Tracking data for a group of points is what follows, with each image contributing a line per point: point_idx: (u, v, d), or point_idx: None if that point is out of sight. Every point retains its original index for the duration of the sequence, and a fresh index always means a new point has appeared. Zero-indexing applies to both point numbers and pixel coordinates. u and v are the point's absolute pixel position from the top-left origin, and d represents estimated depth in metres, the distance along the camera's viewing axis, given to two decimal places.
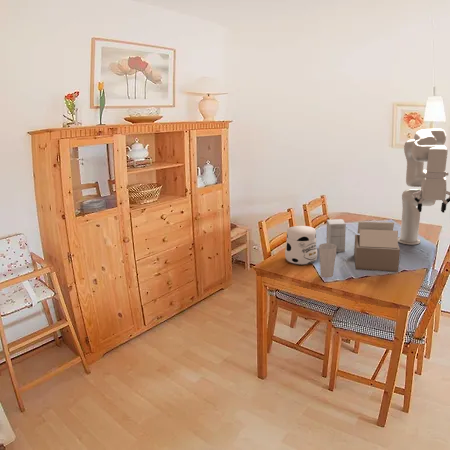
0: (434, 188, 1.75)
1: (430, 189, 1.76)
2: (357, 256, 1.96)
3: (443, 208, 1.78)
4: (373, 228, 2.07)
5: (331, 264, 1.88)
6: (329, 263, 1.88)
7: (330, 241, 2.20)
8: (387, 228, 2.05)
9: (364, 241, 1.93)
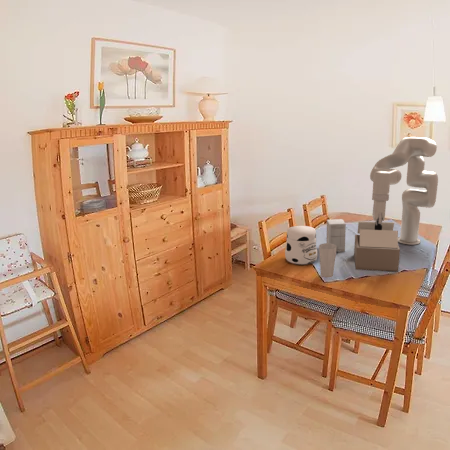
0: None
1: None
2: (357, 256, 1.96)
3: None
4: (373, 228, 2.07)
5: (331, 264, 1.88)
6: (329, 263, 1.88)
7: (330, 241, 2.20)
8: (387, 228, 2.05)
9: (364, 241, 1.93)
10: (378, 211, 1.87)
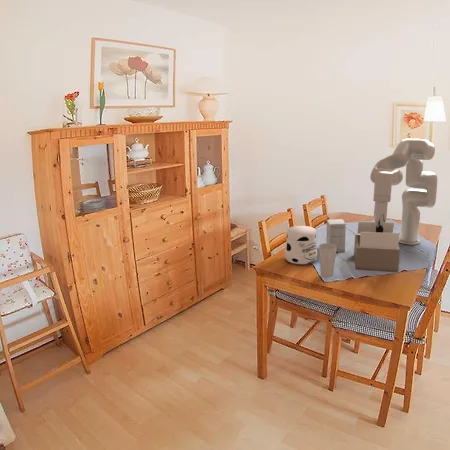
0: None
1: None
2: (357, 256, 1.96)
3: (382, 230, 1.89)
4: (373, 228, 2.07)
5: (331, 264, 1.88)
6: (329, 263, 1.88)
7: (330, 241, 2.20)
8: (387, 228, 2.05)
9: (364, 242, 1.92)
10: (379, 212, 1.81)
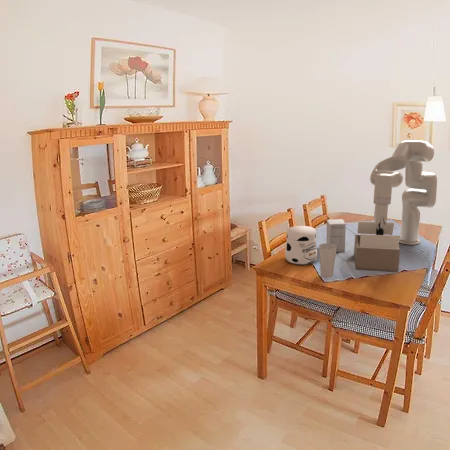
0: None
1: None
2: (357, 256, 1.96)
3: None
4: (373, 228, 2.07)
5: (331, 264, 1.88)
6: (329, 263, 1.88)
7: (330, 241, 2.20)
8: (387, 228, 2.05)
9: (364, 243, 1.91)
10: (380, 215, 1.80)
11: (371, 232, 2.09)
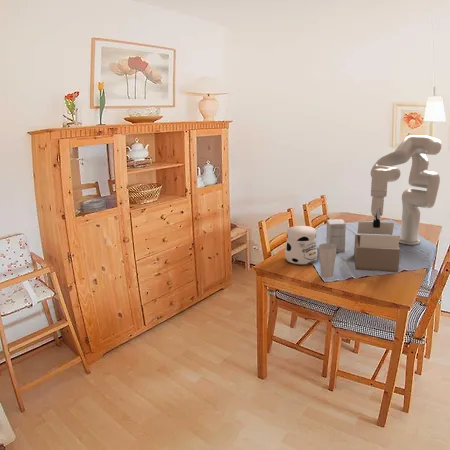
0: None
1: None
2: (357, 256, 1.96)
3: (379, 223, 2.02)
4: (373, 228, 2.07)
5: (331, 264, 1.88)
6: (329, 263, 1.88)
7: (330, 241, 2.20)
8: (387, 228, 2.05)
9: (364, 243, 1.91)
10: (376, 207, 1.95)
11: (371, 232, 2.09)
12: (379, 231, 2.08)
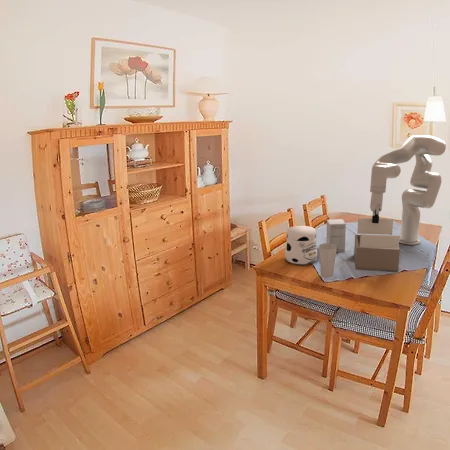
0: None
1: None
2: (357, 256, 1.96)
3: None
4: (373, 226, 2.09)
5: (331, 264, 1.88)
6: (329, 263, 1.88)
7: (330, 241, 2.20)
8: (386, 226, 2.07)
9: (364, 243, 1.91)
10: (376, 202, 1.99)
11: (371, 231, 2.10)
12: (379, 230, 2.09)
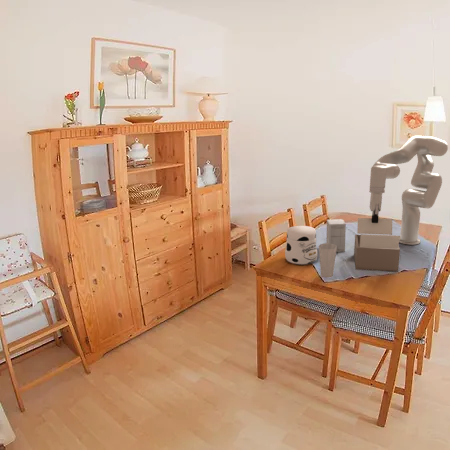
0: None
1: (381, 201, 2.04)
2: (357, 256, 1.96)
3: (377, 219, 2.09)
4: (372, 226, 2.10)
5: (331, 264, 1.88)
6: (329, 263, 1.88)
7: (330, 241, 2.20)
8: (386, 226, 2.09)
9: (364, 243, 1.91)
10: (375, 202, 2.02)
11: (371, 231, 2.10)
12: (379, 230, 2.09)
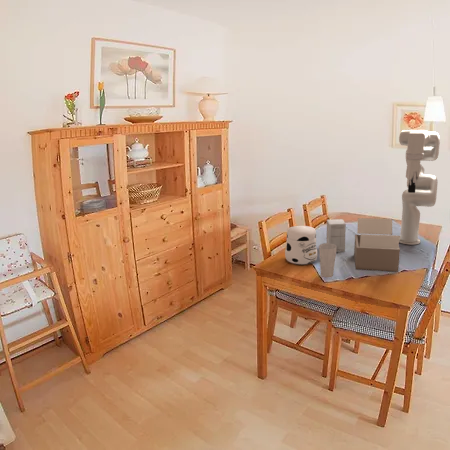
0: None
1: None
2: (357, 256, 1.96)
3: (414, 188, 2.01)
4: (372, 226, 2.11)
5: (331, 264, 1.88)
6: (329, 263, 1.88)
7: (330, 241, 2.20)
8: (386, 226, 2.09)
9: (364, 243, 1.91)
10: (413, 170, 1.94)
11: (371, 231, 2.10)
12: (379, 230, 2.09)
